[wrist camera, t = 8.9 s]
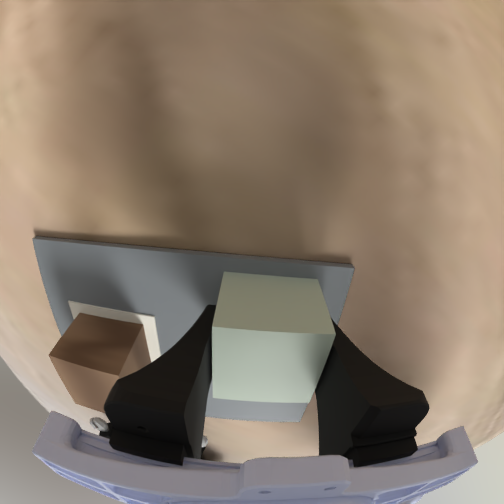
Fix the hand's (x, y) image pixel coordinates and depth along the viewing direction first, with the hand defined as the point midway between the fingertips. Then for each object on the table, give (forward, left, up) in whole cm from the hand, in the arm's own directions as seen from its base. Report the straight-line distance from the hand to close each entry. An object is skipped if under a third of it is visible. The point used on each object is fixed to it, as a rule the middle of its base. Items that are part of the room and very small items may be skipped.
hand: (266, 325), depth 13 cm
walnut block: (+9, +4, -1) cm, 10 cm away
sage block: (0, 0, -1) cm, 1 cm away
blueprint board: (+5, +4, -1) cm, 7 cm away
